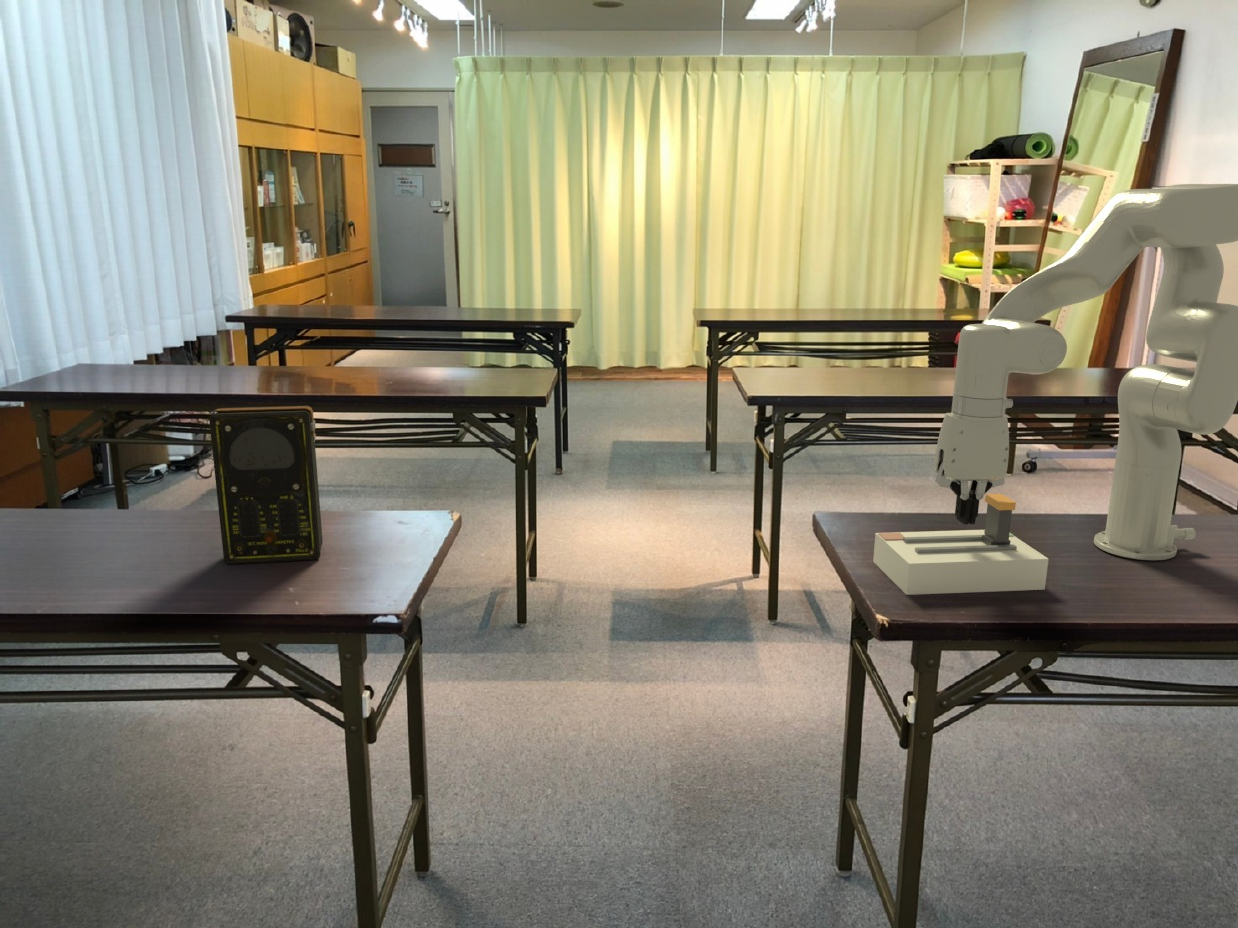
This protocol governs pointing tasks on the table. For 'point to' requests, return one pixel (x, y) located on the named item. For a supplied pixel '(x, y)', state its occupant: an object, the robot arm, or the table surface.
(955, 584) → the switch box
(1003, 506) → the handle
